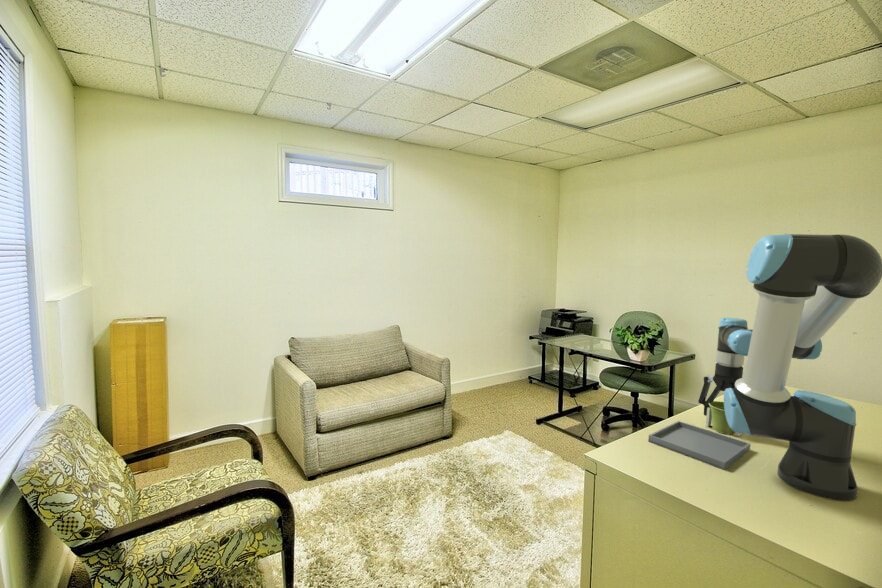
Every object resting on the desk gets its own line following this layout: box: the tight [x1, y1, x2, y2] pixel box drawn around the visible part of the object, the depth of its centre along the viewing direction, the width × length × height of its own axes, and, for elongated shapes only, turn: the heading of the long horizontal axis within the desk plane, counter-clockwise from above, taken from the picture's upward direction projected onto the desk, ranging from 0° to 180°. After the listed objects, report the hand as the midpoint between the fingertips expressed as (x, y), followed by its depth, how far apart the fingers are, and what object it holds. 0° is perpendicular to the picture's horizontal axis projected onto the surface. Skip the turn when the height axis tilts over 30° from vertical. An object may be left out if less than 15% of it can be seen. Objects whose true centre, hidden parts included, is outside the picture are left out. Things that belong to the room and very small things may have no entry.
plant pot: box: [709, 400, 735, 435], centre depth 137 cm, size 9×9×9 cm
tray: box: [647, 420, 752, 471], centre depth 125 cm, size 21×21×2 cm
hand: (723, 429), depth 137 cm, fingers closed on plant pot, 8 cm apart
